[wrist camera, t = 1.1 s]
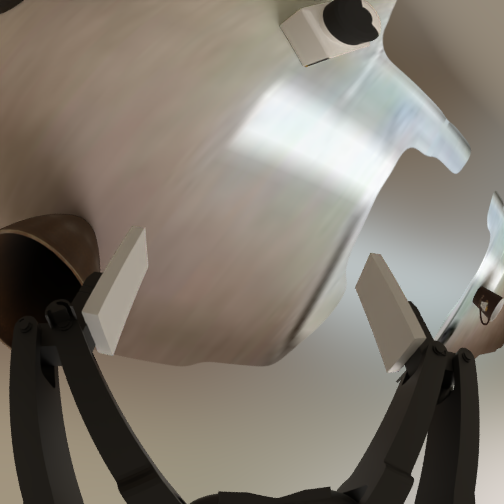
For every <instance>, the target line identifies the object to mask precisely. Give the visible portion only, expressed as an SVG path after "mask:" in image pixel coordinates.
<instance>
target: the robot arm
mask: <svg viewBox="0 0 504 504" xmlns="http://www.w3.org/2000/svg"><path fill="white" fill-rule="evenodd" d="M22 1H23V0H0V14H1V13H3V12H6V11H8V10H10V9H11V8H13V7H15V6H16V5H18V4H19V3H20V2H22ZM147 269H148V257H147V246H146V233H145V227H139V226H132V228H131V229H130V231H129V232H128V234H127V235H126V237H125V238H124V240H123V241H122V243H121V244H120V246H119V248H118V249H117V251H116V252H115V254H114V256H113V257H112V259H111V260H110V262H109V264H108V265H107V267H106V269H105V270H104V272H103V273H101V272H93V273H92V274H91V275H89V276H88V277H87V278H86V280H85V281H84V283H83V285H82V286H81V288H80V290H79V292H78V293H77V295H76V296H75V298H74V300H73V302H72V303H70V302H69V301H67V300H64V299H59V300H55V301H53V302H51V303H50V304H49V305H48V306H47V308H46V310H45V317H46V319H47V321H48V323H38V322H37V321H36V319H35V318H34V317H32V316H24V317H22V318H20V319H19V320H18V321H17V322H16V324H15V326H14V331H13V339H12V349H11V362H10V386H9V389H10V390H9V392H10V394H9V397H10V398H9V399H10V423H11V436H12V445H13V453H14V460H15V466H16V471H17V476H18V481H19V486H20V490H21V494H22V498H23V504H84V503H83V499H82V496H81V493H80V490H79V487H78V483H77V480H76V476H75V473H74V469H73V465H72V461H71V457H70V452H69V448H68V443H67V438H66V433H65V427H64V421H63V414H62V406H61V398H60V388H59V378H58V377H59V376H58V366H62V367H63V370H64V373H65V375H66V379H67V381H68V384H69V387H70V389H71V392H72V395H73V397H74V400H75V402H76V405H77V407H78V409H79V412H80V414H81V416H82V419H83V421H84V423H85V425H86V427H87V429H88V431H89V433H90V435H91V437H92V439H93V442H94V443H95V445H96V447H97V449H98V451H99V453H100V455H101V457H102V458H103V460H104V462H105V464H106V465H107V467H108V469H109V470H110V472H111V474H112V475H113V477H114V479H115V480H116V482H117V485H118V489H119V491H120V494H121V495H122V497H123V498H124V500H125V501H126V502H127V504H186V503H185V501H184V500H183V499H182V498H181V497H180V496H179V494H178V493H177V492H176V491H175V490H174V488H173V487H172V486H171V485H170V484H169V483H168V481H167V480H166V479H165V477H164V476H163V475H162V473H161V472H160V471H159V469H158V468H157V467H156V465H155V464H154V462H153V461H152V460H151V458H150V457H149V455H148V454H147V452H146V451H145V449H144V448H143V446H142V445H141V443H140V442H139V440H138V439H137V437H136V435H135V434H134V432H133V431H132V429H131V427H130V425H129V424H128V422H127V420H126V419H125V417H124V415H123V413H122V412H121V410H120V408H119V406H118V404H117V402H116V400H115V399H114V397H113V395H112V393H111V391H110V389H109V387H108V385H107V383H106V381H105V379H104V377H103V375H102V372H101V370H100V368H99V366H98V364H97V361H96V359H95V357H94V355H93V353H92V352H93V350H94V347H95V346H96V348H97V350H98V352H99V353H103V354H107V355H112V356H113V355H114V352H115V349H116V346H117V343H118V340H119V338H120V335H121V332H122V330H123V327H124V324H125V322H126V319H127V317H128V314H129V312H130V309H131V307H132V304H133V302H134V299H135V297H136V294H137V292H138V289H139V287H140V285H141V282H142V280H143V278H144V275H145V273H146V271H147ZM355 288H356V291H357V293H358V296H359V298H360V301H361V303H362V306H363V308H364V311H365V313H366V316H367V318H368V321H369V323H370V326H371V329H372V331H373V334H374V337H375V339H376V342H377V345H378V348H379V351H380V353H381V356H382V359H383V362H384V365H385V368H386V371H387V373H389V372H398V371H399V370H400V369H401V368H402V367H403V366H404V365H405V367H406V371H405V372H404V373H403V374H402V376H401V377H400V378H399V379H398V380H397V381H396V382H399V381H400V380H401V381H400V383H399V386H398V388H397V390H396V393H395V395H394V397H393V400H392V402H391V404H390V406H389V408H388V410H387V413H386V415H385V417H384V419H383V421H382V423H381V425H380V427H379V429H378V430H377V432H376V434H375V436H374V438H373V440H372V442H371V443H370V445H369V447H368V449H367V451H366V452H365V454H364V456H363V458H362V459H361V461H360V462H359V464H358V466H357V467H356V469H355V470H354V472H353V474H352V475H351V476H350V478H349V479H348V480H346V481H345V482H344V483H343V484H342V485H341V486H340V487H339V489H338V490H337V491H333V490H331V489H330V487H324V488H317V489H308V490H303V491H300V492H297V493H294V494H291V495H288V496H284V497H280V498H272V497H266V496H261V495H256V494H252V493H246V492H241V493H240V492H218V494H213V495H209V496H205V497H202V498H199V499H197V500H195V501H193V502H192V503H190V504H404V502H405V500H406V498H407V496H408V494H409V492H410V490H411V488H412V485H413V482H414V478H413V477H412V476H411V472H412V469H413V467H414V465H415V463H416V460H417V458H418V455H419V453H420V450H421V448H422V445H423V443H424V440H425V437H426V435H427V432H428V435H427V443H426V449H425V456H424V462H423V467H422V472H421V478H420V482H419V486H418V490H417V495H416V499H415V504H475V495H474V492H475V485H476V477H477V468H478V456H479V455H478V454H479V396H478V383H477V373H476V365H475V359H474V356H473V354H472V353H471V351H469V350H468V349H466V348H460V349H459V350H458V352H457V353H452V352H448V351H447V349H446V347H445V346H444V345H443V344H442V343H441V342H438V341H434V340H433V338H432V336H431V334H430V332H429V330H428V328H427V326H426V324H425V322H424V321H423V318H422V317H421V315H420V312H419V311H418V309H417V307H416V306H415V305H414V304H413V303H412V302H411V301H407V299H406V297H405V295H404V294H403V292H402V290H401V288H400V286H399V285H398V283H397V281H396V279H395V278H394V276H393V274H392V272H391V271H390V269H389V267H388V266H387V264H386V262H385V261H384V259H383V257H382V256H381V255H380V254H375V253H370V255H369V257H368V260H367V262H366V264H365V267H364V269H363V271H362V273H361V276H360V278H359V280H358V282H357V284H356V287H355ZM453 385H454V390H453Z"/></svg>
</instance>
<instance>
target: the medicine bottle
mask: <svg viewBox="0 0 504 504" xmlns="http://www.w3.org/2000/svg"><path fill="white" fill-rule="evenodd" d="M280 27H281V29H282V30H283V32H284V34H285V35H286V37H287V39H288V40H289V42H290V44H291V45H292V47H293V49H294V51H295V52H296V54H297V56H298V58H299V59H300V61H301V63H302V65H303V66H304V67H308V66H310V65H313V64H316V63H319V62H321V61H324V60H327V59H330V58H333V57H336V56H339V55H342V54H345V53H348V52H351V51H354V50H358V49H361V48H364V47H368V46H370V42H369V41H373V40H375V39H376V38H377V37H378V36H379V34H380V31H381V22H380V18H379V16H378V14H377V12H376V11H375V9H374V8H373V7H372V6H371V5H370V4H369V3H368V2H367V1H365V0H334V1H331V2H326V3H321V4H316V5H312V6H307V7H303V8H301V9H299V10H298V11H297V12H295V13H294V14H293V15H292V16H290V17H289V18H288V19H287V20H285V21H284V22H283V23H282V24H281V25H280Z"/></svg>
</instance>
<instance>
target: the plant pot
mask: <svg viewBox="0 0 504 504" xmlns="http://www.w3.org/2000/svg"><path fill="white" fill-rule="evenodd" d="M93 272H100V258H99V250H98V244H97V239H96V236H95V233H94V231H93V229H92V227H91V226H90V225H89V223H87V222H86V221H85V220H84V219H82V218H80V217H78V216H74V215H68V214H50V215H42V216H37V217H33V218H29V219H25V220H22V221H19V222H17V223H14V224H11V225H9V226H6V227H4V228H2V229H0V341H1V342H2V343H3V344H4V345H6V346H7V347H8V348H10V349H12V339H13V331H14V326H15V324H16V322H17V321H18V320H19V319H20V318H22V317H24V316H32V317H34V318H35V319H36V321H37V322H38V323H48V321H47V319H46V317H45V310H46V308H47V306H48V305H49V304H50V303H51V302H53V301H55V300H59V299H64V300H67V301H69V302H70V303H72V302H73V300H74V298H75V296H76V295H77V293H78V292H79V290H80V288H81V286H82V285H83V283H84V281H85V280H86V278H87V277H88V276H89V275H91V274H92V273H93Z"/></svg>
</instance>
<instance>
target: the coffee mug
mask: <svg viewBox="0 0 504 504" xmlns="http://www.w3.org/2000/svg"><path fill="white" fill-rule="evenodd" d="M473 303H474V304H475V305H476V306H477V307H478V308H479V309H480V320H481V323H482V324H483V325H487V324H488V323H489V320H490V321H493V320H494V319H495V318H496V316H497V315H498V313H499V312H500V310H501V308H502V306H503V303H504V298H502V297H501V296H499V295H497V294H495V293H493V292H492V291H490V290H488V289H486V288H484V287H480V288H479V289H478V291H477V292H476V294H475V296H474V298H473ZM481 311H482V312H483V313H484V314H485V315H486V317H487V318H488V322H487V323H486V324H485V323H483V321H482V317H481Z"/></svg>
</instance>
